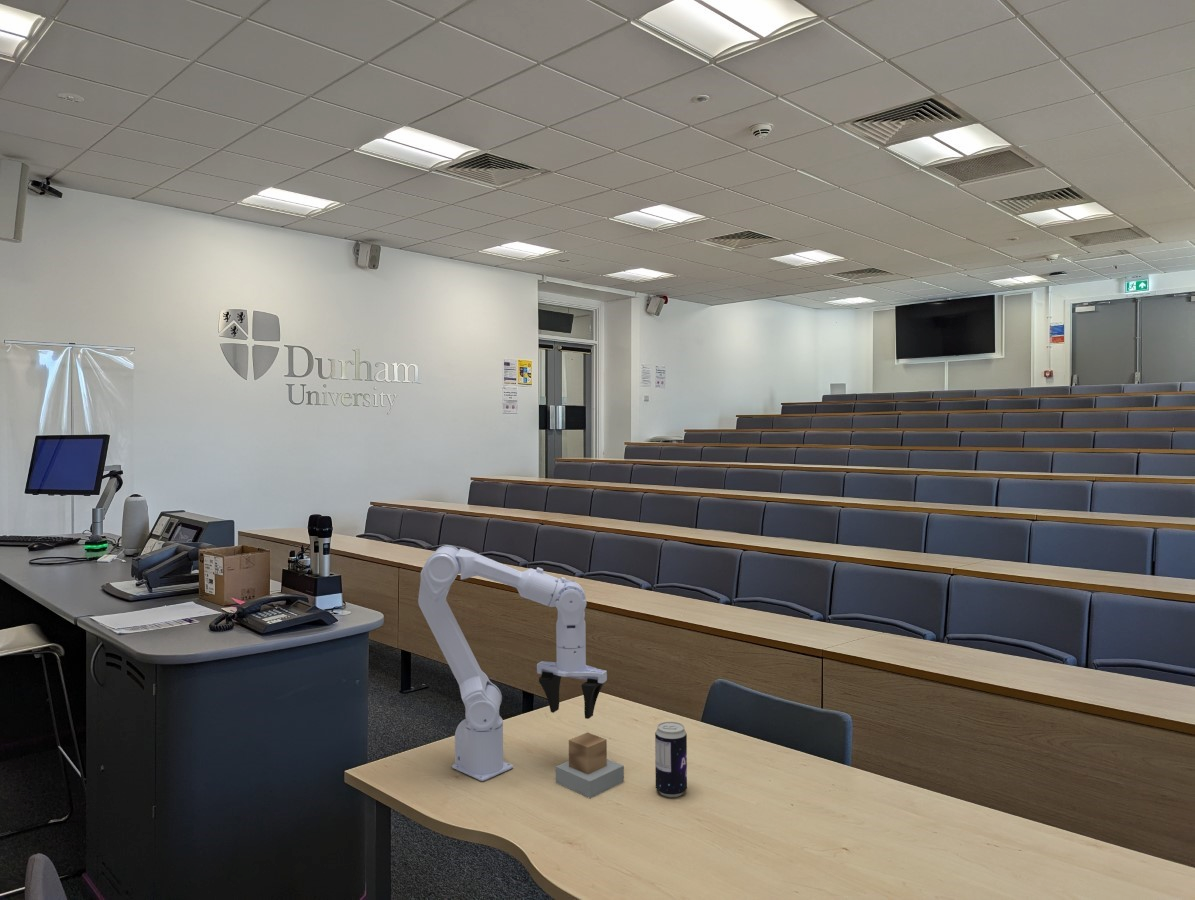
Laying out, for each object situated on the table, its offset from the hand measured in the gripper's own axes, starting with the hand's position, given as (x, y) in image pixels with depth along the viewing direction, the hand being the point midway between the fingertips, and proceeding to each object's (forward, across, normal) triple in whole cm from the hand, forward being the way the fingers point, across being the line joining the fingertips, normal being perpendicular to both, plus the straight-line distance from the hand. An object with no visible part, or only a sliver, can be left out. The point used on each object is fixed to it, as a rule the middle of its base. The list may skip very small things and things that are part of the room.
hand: (571, 713), depth 153 cm
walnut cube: (+7, +6, -5) cm, 11 cm away
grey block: (+11, +6, -4) cm, 13 cm away
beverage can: (+11, +21, -2) cm, 24 cm away
